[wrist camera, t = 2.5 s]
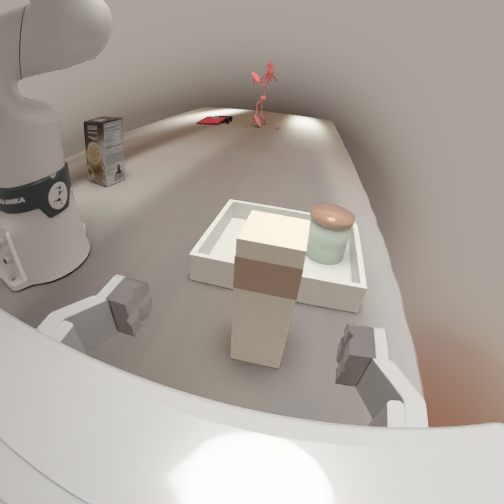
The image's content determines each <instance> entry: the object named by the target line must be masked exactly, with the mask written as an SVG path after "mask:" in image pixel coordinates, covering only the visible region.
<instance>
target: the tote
mask: <svg viewBox="0 0 504 504" xmlns="http://www.w3.org/2000/svg"><path fill="white" fill-rule="evenodd" d="M252 210H255V211H261V212H267V213H272V214H278V215H284V216H289V217H295V218H300V219H306V220H310V221H311V216H310V213H308V212H302V211H297V210H291V209H286V208H280V207H274V206H268V205H262V204H256V203H250V202H244V201H238V200H231V199H230V200H229V201H228V203H227V204H226V205H225V207H224V208H223V209H222V210H221V212H220V213H219V214H218V216H217V217H216V218H215V220H214V221H213V222H212V224H211V225H210V226H209V228H208V229H207V230H206V232H205V233H204V234H203V236H202V237H201V239H200V240H199V241H198V243H197V244H196V245H195V247H194V248H193V249H192V251H191V252H190V254H189V267H190V280H194V281H198V282H203V283H207V284H212V285H216V286H221V287H225V288H230V289H234V287H233V279H234V260H235V255H236V239H237V237H238V235H239V233H240V231H241V229H242V228H243V226H244V224H245V222H246V220H247V219H248V217H249V215H250V213H251V211H252ZM366 290H367V285H366V277H365V270H364V263H363V256H362V250H361V244H360V238H359V232H358V227H357V222H354V224H353V226H352V227H351V230H350V234H349V238H348V242H347V245H346V249H345V252H344V256H343V259H342V261H341V262H340V263H338V264H334V265H325V264H320V263H317V262H315V261H313V260H311V259H310V258H309V257H308V256H307V255H306V256H305V261H304V268H303V273H302V278H301V282H300V287H299V291H298V296H297V300H296V301H295V302H299V303H304V304H309V305H315V306H320V307H326V308H331V309H337V310H343V311H348V312H354V313H358V311H359V308H360V306H361V303H362V301H363V298H364V296H365V293H366Z"/></svg>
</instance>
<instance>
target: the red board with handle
mask: <svg viewBox="0 0 504 504" xmlns="http://www.w3.org/2000/svg"><path fill="white" fill-rule="evenodd" d="M232 117H233V116H215V117H206V118H204V119H203V120H201V121H199V122H197V124H210V125H219V124H221V123H224V122H226V124H228V123H229V120H230V121H232Z"/></svg>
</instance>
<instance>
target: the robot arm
mask: <svg viewBox="0 0 504 504" xmlns="http://www.w3.org/2000/svg"><path fill="white" fill-rule="evenodd" d="M30 2H31V3H30V4H28V5H26V6H23V7H19V8H15V9H11V10H7V11H4V12H1V13H0V278H1V279H2V280H3V281H4V282H5V284H6V285H7V286H8V287H9V288H10V289H11V290H12V291H19V290H22V289H24V288H26V287H28V286H31V285H34V284H41V283H46V282H50V281H53V280H56V279H58V278H61V277H63V276H65V275H66V274H68V273H70V272H71V271H73V270H74V269H76V268H77V267H78V266H79V265H80V264H81V263H82V262H83V261H84V260H85V259H86V257H87V256H88V254H89V251H90V242H89V240H88V238H87V236H86V234H87V228H86V225H85V224H82V221H81V218H80V214H79V211H78V208H77V204H76V201H75V197H74V194H73V192H72V191H71V190H70V187H71V181H70V171H69V169H68V164H67V163H66V162H65V160H64V153H63V143H62V132H61V120H60V116H59V114H58V112H57V110H55V108H54V107H53V106H51V105H49V104H47V103H44V102H41V101H38V100H34V99H30V98H26V97H23V96H22V95H21V94H19V92H18V88H17V82H18V81H19V80H21V79H23V78H26V77H30V76H34V75H38V74H42V73H47V72H51V71H56V70H61V69H66V68H69V67H72V66H74V65H78V64H80V63H83V62H86V61H89V60H92V59H95V58H96V57H97V56H98V55H99V54H100V53H101V52H102V50H103V49H104V48H105V46H106V44H107V43H108V40H109V38H110V35H111V32H112V26H113V20H112V14H111V11H110V9H109V7H108V5H107V4H106V3H105V2H104V1H103V0H30ZM148 291H149V287H148V284H147V283H146V282H143V281H139V280H136V279H132V278H129V277H124V276H121V275H115V276H114V277H113V278H112V279H111V280H110V281H109V282H108V283H107V284H106V285H105V286H104V288H103V289H102V290H101V291H100V292H99V293H98V294H97V295H96V296H94V295H93V296H90V297H88V298H85V299H83V300H80V301H78V302H75V303H73V304H71V305H68V306H66V307H63V308H61V309H58V310H56V311H53V312H51V313H50V314H49V315H48V316H47V317H46V318H45V320H44V321H43V322H42V323H41V324H40V325H39V326H38V327H37V329H34V328H33V327H31V326H29V325H27V324H26V323H24V322H22V321H21V320H19V319H17V318H15V317H14V316H12V315H11V314H9V313H7V312H6V311H4V310H2V309H1V308H0V504H504V424H503V423H499V422H496V423H495V422H494V423H485V424H477V425H466V426H450V427H428V419H427V411H426V403H425V400H424V399H423V398H422V396H421V395H420V394H419V393H418V391H417V390H416V389H415V388H414V386H413V385H412V384H411V383H410V381H409V380H408V379H407V378H406V376H405V375H404V374H403V373H402V371H401V370H400V369H399V368H398V367H397V365H396V364H395V363H394V362H393V361H391V360H389V353H388V345H387V338H386V331H385V329H384V328H378V327H369V326H362V325H355V324H347V325H346V327H345V330H344V337H342V338H341V340H340V343H339V346H338V350H337V362H338V364H339V365H338V367H337V369H336V382H335V384H342V385H348V386H355V387H356V389H357V391H358V393H359V395H360V396H361V398H362V400H363V402H364V404H365V405H366V407H367V409H368V411H369V413H370V415H371V417H372V418H373V420H372V421H371V423H370V424H369V425H368V426H361V425H349V424H339V423H330V422H322V421H314V420H307V419H300V418H294V417H288V416H282V415H277V414H271V413H266V412H261V411H256V410H252V409H247V408H243V407H238V406H234V405H230V404H226V403H222V402H218V401H214V400H211V399H207V398H203V397H200V396H196V395H193V394H190V393H186V392H183V391H180V390H177V389H174V388H171V387H167V386H164V385H162V384H159V383H156V382H153V381H150V380H147V379H144V378H142V377H139V376H136V375H134V374H131V373H128V372H126V371H123V370H121V369H118V368H116V367H113V366H111V365H109V364H106V363H104V362H102V361H99V360H97V359H95V358H93V357H90V356H88V355H87V353H86V352H87V351H88V350H90V349H92V348H93V347H95V346H96V345H98V344H100V343H101V342H103V341H105V340H106V339H108V338H110V337H111V336H113V335H115V334H116V333H118V332H121V333H124V334H128V335H131V336H135V335H136V333H137V332H138V331H139V329H140V328H141V321H143V320H145V319H147V317H148V316H149V314H150V311H151V306H152V302H151V298H150V297H149V295H148V294H147V293H148Z"/></svg>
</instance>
